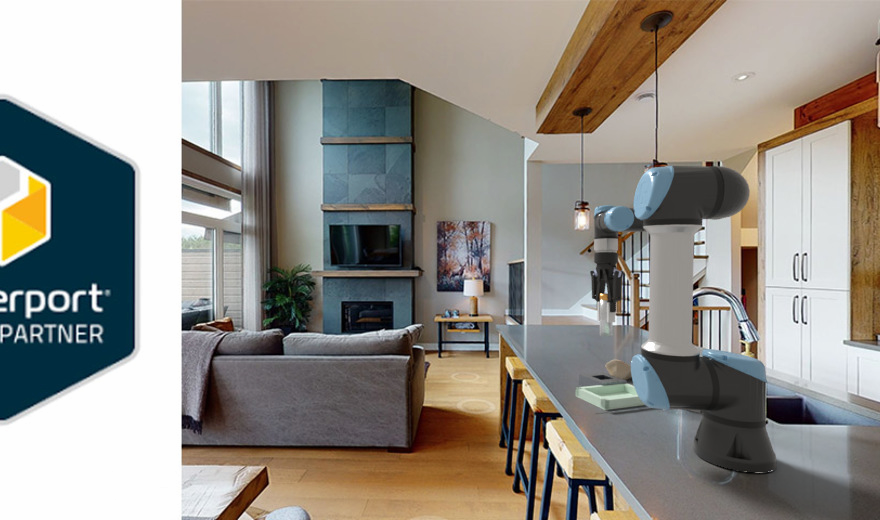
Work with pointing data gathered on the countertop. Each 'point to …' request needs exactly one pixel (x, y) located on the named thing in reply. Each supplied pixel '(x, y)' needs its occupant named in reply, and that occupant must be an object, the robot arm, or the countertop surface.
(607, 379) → the hitch block
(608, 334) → the clear bottle
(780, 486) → the countertop surface
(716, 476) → the countertop surface
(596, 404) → the tray
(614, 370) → the stone
